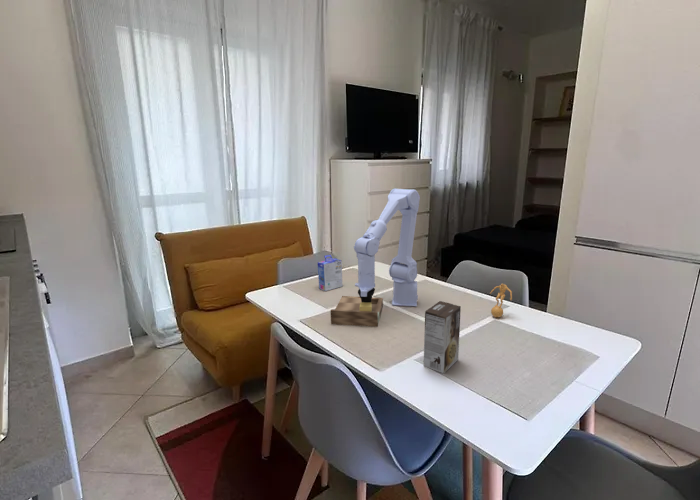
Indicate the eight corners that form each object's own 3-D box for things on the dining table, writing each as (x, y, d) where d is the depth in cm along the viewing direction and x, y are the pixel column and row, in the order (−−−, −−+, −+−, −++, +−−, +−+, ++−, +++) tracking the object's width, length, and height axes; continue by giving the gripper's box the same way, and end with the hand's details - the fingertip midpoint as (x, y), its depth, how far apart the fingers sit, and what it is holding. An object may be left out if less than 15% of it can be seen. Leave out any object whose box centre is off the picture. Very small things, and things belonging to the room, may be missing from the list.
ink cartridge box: (335, 283, 171) (335, 252, 168) (343, 286, 167) (342, 255, 164) (317, 288, 165) (316, 256, 162) (325, 291, 161) (324, 259, 158)
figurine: (483, 314, 134) (485, 282, 132) (493, 310, 138) (495, 279, 135) (504, 322, 128) (507, 288, 125) (514, 317, 131) (517, 285, 128)
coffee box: (437, 352, 108) (439, 300, 105) (458, 359, 104) (462, 305, 101) (422, 366, 102) (424, 310, 98) (444, 374, 98) (447, 316, 94)
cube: (371, 313, 131) (371, 302, 130) (371, 317, 127) (371, 306, 126) (360, 313, 131) (360, 302, 130) (359, 317, 127) (359, 306, 126)
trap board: (382, 303, 146) (382, 291, 145) (377, 326, 126) (377, 312, 125) (342, 301, 149) (342, 289, 148) (330, 324, 129) (330, 310, 127)
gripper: (358, 265, 137) (358, 301, 140) (351, 277, 123) (352, 316, 126) (377, 266, 136) (377, 301, 139) (372, 278, 122) (372, 317, 125)
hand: (366, 309), depth 132 cm, fingers closed
